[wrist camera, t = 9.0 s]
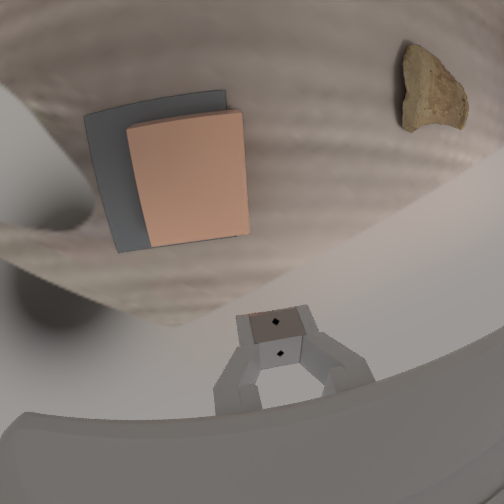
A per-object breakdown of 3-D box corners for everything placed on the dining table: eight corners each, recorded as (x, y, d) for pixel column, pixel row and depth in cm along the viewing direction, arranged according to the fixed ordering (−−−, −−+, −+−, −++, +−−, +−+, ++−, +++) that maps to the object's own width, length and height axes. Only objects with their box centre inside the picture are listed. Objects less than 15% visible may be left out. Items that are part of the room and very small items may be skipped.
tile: (242, 112, 23) (126, 129, 22) (249, 233, 30) (151, 247, 29) (237, 108, 26) (133, 123, 25) (245, 219, 33) (155, 231, 31)
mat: (225, 89, 25) (225, 90, 25) (237, 235, 34) (237, 236, 34) (84, 116, 23) (83, 116, 23) (118, 251, 32) (118, 253, 32)
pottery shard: (392, 129, 30) (457, 138, 29) (406, 134, 27) (475, 146, 26) (392, 44, 25) (459, 61, 24) (406, 39, 21) (478, 60, 20)
